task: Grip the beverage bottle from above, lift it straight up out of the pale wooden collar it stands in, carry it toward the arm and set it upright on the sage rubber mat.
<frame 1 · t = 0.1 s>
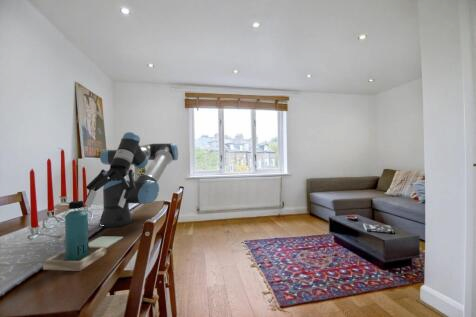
hand: (104, 206, 86), 15 cm above the table, tool tilted 35°, fingers open, 13 cm apart
wooden collar: (77, 261, 73), on the table
rubber mat: (103, 242, 89), on the table
beverage bottle: (77, 261, 73), resting in wooden collar
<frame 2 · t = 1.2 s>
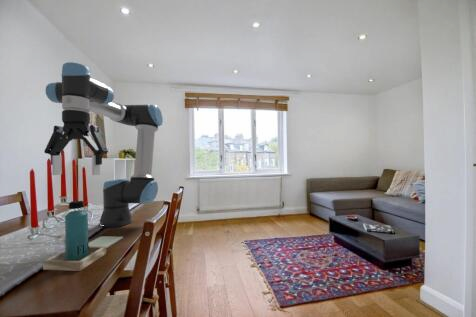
hand: (76, 175, 73), 29 cm above the table, tool pointing down, fingers open, 13 cm apart
nothing on the table moved.
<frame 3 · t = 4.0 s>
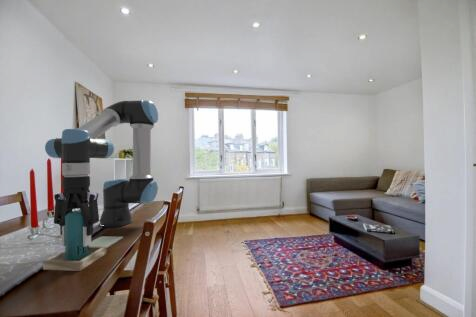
hand: (76, 244, 73), 5 cm above the table, tool pointing down, fingers closed on beverage bottle, 6 cm apart
beverage bottle: (77, 261, 73), resting in wooden collar, touching gripper
when the fingers open (7 cm above the table, at t = 10.0 s): beverage bottle drops 1 cm, resting on rubber mat.
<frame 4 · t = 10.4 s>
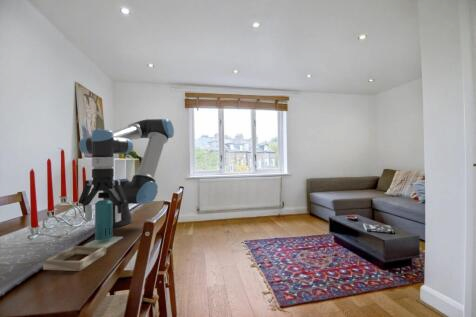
hand: (103, 221, 89), 9 cm above the table, tool pointing down, fingers open, 12 cm apart
beverage bottle: (103, 241, 89), resting on rubber mat
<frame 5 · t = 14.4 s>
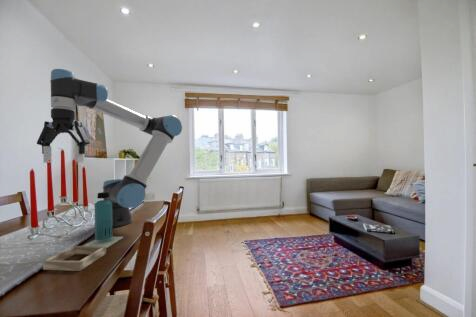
hand: (63, 162, 88), 33 cm above the table, tool pointing down, fingers open, 13 cm apart
nothing on the table moved.
at the end: beverage bottle inside the target area on the rubber mat (0.1 cm from its centre), point 0.2 cm above the rubber mat's base; beverage bottle tilted 0°; the gripper is holding nothing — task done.
